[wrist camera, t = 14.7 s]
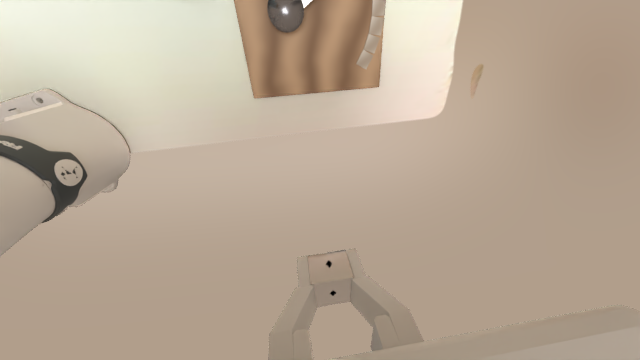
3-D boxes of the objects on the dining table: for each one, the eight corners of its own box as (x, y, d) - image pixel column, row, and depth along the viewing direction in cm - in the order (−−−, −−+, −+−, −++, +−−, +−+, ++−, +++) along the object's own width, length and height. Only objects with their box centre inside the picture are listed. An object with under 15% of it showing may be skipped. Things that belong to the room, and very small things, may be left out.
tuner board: (254, 96, 40) (254, 98, 39) (214, -101, 28) (211, -107, 26) (376, 85, 42) (379, 87, 40) (389, -104, 29) (393, -110, 28)
